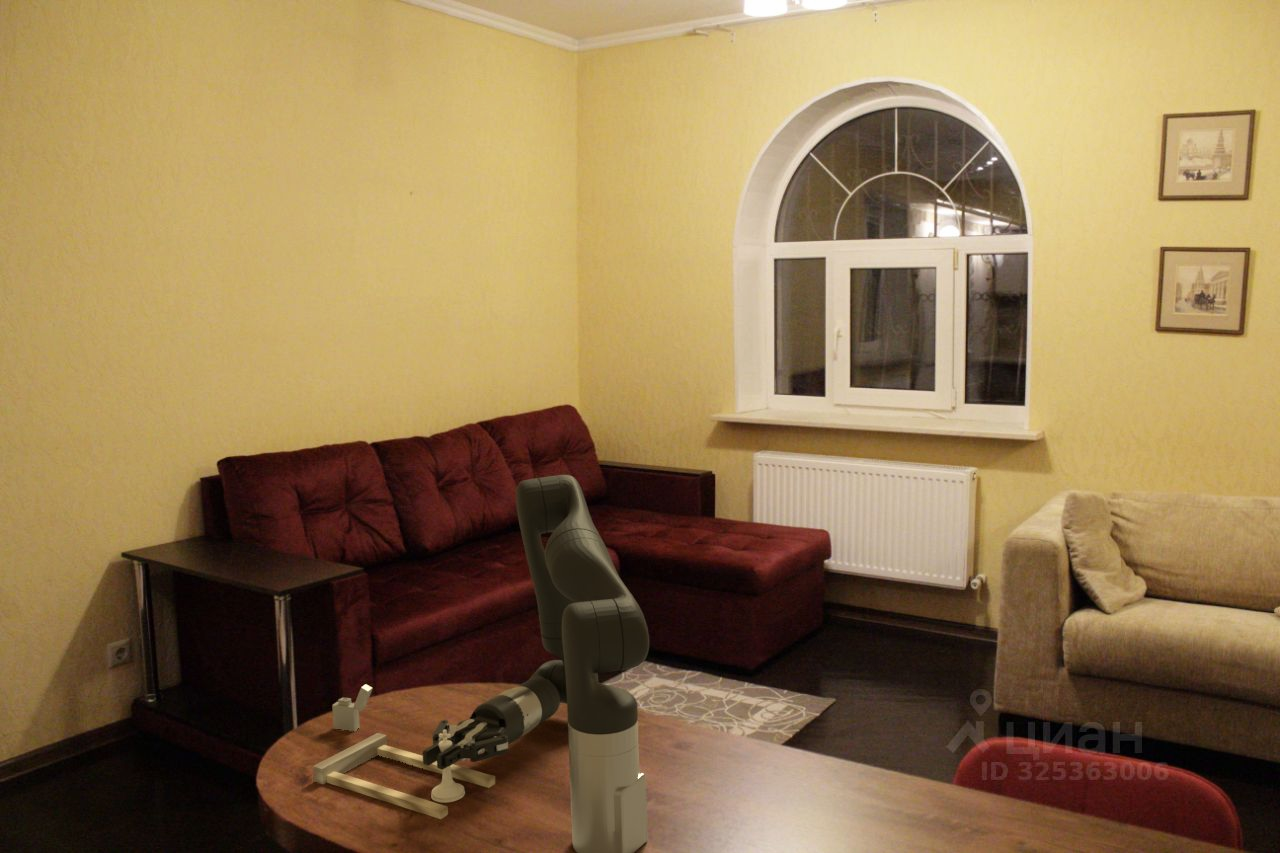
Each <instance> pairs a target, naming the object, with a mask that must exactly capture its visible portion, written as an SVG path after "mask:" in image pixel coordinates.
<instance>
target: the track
mask: <svg viewBox="0 0 1280 853" xmlns="http://www.w3.org/2000/svg"><path fill="white" fill-rule="evenodd" d="M378 755H379V757H381V756H382V757H381V758H385V757H386V758H385V759H388V758H390V759H389V760H392V759H393V761H395V760H396V761H395V762H398V761H400V762H399V763H402V762H403V764H405V763H406V765H409V766H412V765H413V767H416V768H418V769H419V768H420V769H422V768H423V770H426V771H430V772H432V773H437V774H440V775H442V774H443V770H442V769H439V768H437V761H436V762H434V763H432V764H430V765H425V764H423V754H422V755H421V754H418V753H415V752H411V751H409V750H408V751H407V750H405V749H400V748H397V747H393V746H390V745H388V735H387V734H384V733H380V732H377V733H375V734H373V735H370V736H369V737H367V738H365V739H363V740H361V741H359V742H357V743H356V744H354V745H351V746H350V747H348V748H346V749H344V750H342V751H339V752H337V753H336V754H334V755H332V756H330V757H328V758H326V759H324V760H321V761H320V762H318V763H316V764H315V765H312V773H313V783H316V782H317V784H319V785H325V784H326V783H327V784H330V785H334V786H336V787H339V788H343V789H345V790H348V791H352V792H355V793H357V794H361V795H364V796H368V797H370V798H374V799H376V800H379V801H382V802H386V803H389V804H391V805H395V806H398V807H402V808H404V809H408V810H411V811H414V812H417V813H420V814H423V815H427V816H428V817H429V816H430V817H432V818H436V819H439V820H442V819H444V818H445V817H447V816H449V808H448V807H449V806H447V805H443V804H440V803H439V802H435V801H430V800H427V799H425V798H421V797H418V796H415V795H412V794H408V793H405V792H402V791H398V790H396V789H393V788H389V787H387V786H383V785H379V784H376V783H374V782H369V781H368V780H364V779H361V778H357V777H354V776H351V775H348V774H346V773H348V772H349V771H351V770H353V769H355V768H357V767H359V766H360V764H361V765H362V764H364V763H366V762H368V761H369V760H371V758H372V759H373V758H375V757H377V756H378ZM358 765H359V766H358ZM450 767H451V773H452V778H454V779H457V780H461V781H463V782H467V783H469V784H470V783H471V784H474V785H478V786H481V787H484V788H488V789H490V788H491V787H492V786H494V785H496V775H492V774H488V773H484V772H481V771H479V770H478V771H477V770H475V769H470V768H468V767H464V766H461V765H458V764H457V765H456V764H455V763H454V764H452V765H451V766H450ZM347 771H348V772H347Z"/></svg>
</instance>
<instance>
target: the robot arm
mask: <svg viewBox="0 0 1280 853" xmlns="http://www.w3.org/2000/svg"><path fill="white" fill-rule="evenodd" d="M515 505H516V506H515V507H516V513H517V519H518V524H519V528H520V534H521V539H522V542H523V546H524V547H523V548H524V552H525V556H526V561H527V564H528V569H529V573H530V577H531V581H532V584H533V587H534V592H535V597H536V603H537V611H538V619H539V628H540V635H541V642H542V643H541V644H542V646H543V648H544V649H545V651H547V652H549V653H551V654H552V655H555V656H557V657H558V658H559V659H553V660H549V661H546V662H544V663H542V664H541V665H539V666H538V668H537V669H536V671H535V672H534V673H533V674H532V675H531V676H530V678H529V679H528V680H526V681H524V682H523V683H521V684H519V685H517V686H516V687H513V688H509V689H507V690H505V691H503V692H501V693H499V694H497V695H496V696H494V697H492V698H490V699H488V700H486V701H484V702H483V703H480V704H478V705H477V706H476V707H475V709H474V710H473V711H472V713H471V716H470V717H468V718H469V719H468V718H467V719H464V720H461V721H459V722H458V723H457V724H450V723H449V720H447V719H444V720H443V719H442V720H440V722H439V723H438V725H437V727H436V728H435V730H434V732H433V733H432V745H430V746H429V747H427V748H425V749H423V751H422V756H423V764H425V765H430V764H432V763H434V762H436V761H437V768H439V769H442V770H443V769H445V768H446V767H448V766H451V765H452V764H454V765H455V764H456V763H457V762H464V761H467V760H468V759H469V762H470V763H477V762H480V761H483V760H488V759H492V758H495V757H498V756H504V755H507V754H508V753H509V745H511V744H513V743H514V742H515V741H517V740H519V739H520V738H522V737H524V736H525V735H527V734H528V733H530V732H531V731H532V730H534V729H535V728H536V727H537V726H539V725H541V724H542V723H543V722H545V721H547V720H549V719H550V718H551V717H552V716H554V715H555V713H557V711H558V709H559V707H560V705H561V704H566V707H567V731H568V732H567V733H568V734H567V735H568V760H569V761H568V764H569V765H568V766H569V785H570V786H569V788H570V789H569V791H570V814H571V815H570V816H571V837H572V838H571V842H572V844H571V845H572V848H573V849H574V850H575V852H576V853H635V852H637V851H638V850H639V849H640V848H641V847H642V846H643V845H644V844H645V843H647V842H648V809H647V808H648V807H647V806H648V804H647V803H648V802H647V775H646V774H645V772H640V756H639V755H640V754H639V752H640V751H639V712H638V711H639V710H638V702H637V699H636V696H634V695H633V694H632V693H631V692H630V691H627V690H625V689H624V688H620V687H616V686H613V685H609V684H605V683H601V682H599V675H598V674H600V673H610V672H616V671H617V672H618V671H626V670H630V669H633V668H636V667H638V666H641V665H642V664H643V663H644V662H645V661H646V658H647V657H648V654H649V649H650V635H649V628H648V624H647V621H646V619H645V616H644V615H645V614H644V613H643V611H642V608H641V607H640V605H639V603H638V602H637V600H636V598H634V596H633V594H632V592H630V590H629V588H628V587H627V586H626V585H625V583H624V582H623V580H622V579H621V577H620V575H619V574H618V571H617V569H616V567H615V565H614V563H613V561H612V557H611V555H610V553H609V551H608V549H607V547H606V545H605V542H604V540H603V539H602V537H601V535H600V534H599V531H598V530H597V528H596V526H595V524H594V522H593V519H592V517H591V514H590V512H589V508H588V505H587V501H586V498H585V495H584V492H583V490H582V487H581V485H580V483H579V481H578V480H577V478H575V477H574V476H572V475H569V474H557V475H550V476H544V477H538V478H537V477H536V478H535V477H534V478H531V479H530V478H528V479H524V480H522V481H520V482H518V484H517V487H516V490H515ZM547 533H551V535H550V536H549V538H548V540H547V542H546V545H545V548H544V545H543V542H542V536H541V535H543V534H547ZM560 703H561V704H560ZM443 730H447V734H451V737H450V738H447V740H450V741H452V747H450V748H448V749H446V750H445V751H443V752H441V750H440V748H439V745H438V744H439V742H440V741H443V738H441V737H439V734H440V733H443Z"/></svg>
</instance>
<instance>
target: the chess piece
mask: <svg viewBox="0 0 1280 853" xmlns="http://www.w3.org/2000/svg"><path fill="white" fill-rule="evenodd" d="M439 737H441V738H443V741H440V742H439V744H438V745H439V748H440V750H441V752H443V751H445V750H446V749H448V748H450V747H452V741H450V740H447V738H450V737H451V734H447V730H443V733H440V734H439ZM441 775H442V776H441V777H442V778H441V782H440V783H439V784H438V785H436V786H434V787H433V789H432V790H431V792H430V793H431V796H430V797H431V799H432V800H433V802H435V803H442V804H443V803H444V804H446V803H447V804H448V803H453V802H456V801H458V800H461V799H462V798H464V796H465V794H466V791H465V786H464V785H462V783H458V782H456V781H454V779H453V777H452V773H451V767H450V766H448V767H446V768H445V769H443V774H441Z"/></svg>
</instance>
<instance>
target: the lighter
mask: <svg viewBox="0 0 1280 853" xmlns="http://www.w3.org/2000/svg"><path fill="white" fill-rule="evenodd" d="M372 691H373V687H372V686H370V685H368V684H367V683H366V684H364V685H363V686H361V687H360V689H359V692H358V694H357V697H356V700H355V702H352V698H350V697H341V698H338V700H337V701H336V702H335V703H333V704H332V720H333V730H334V729H342V730H341V731H344V730H349V731H348V732H353V731H354V732H356V731H357V729H358V728H359V729H360V726H361V725H360V714H359V713H360V712H361V711H362V710H364V709H365V708H366V706H367V703H368V701H369V699H370V696H371V694H372ZM359 729H358V730H359Z"/></svg>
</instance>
